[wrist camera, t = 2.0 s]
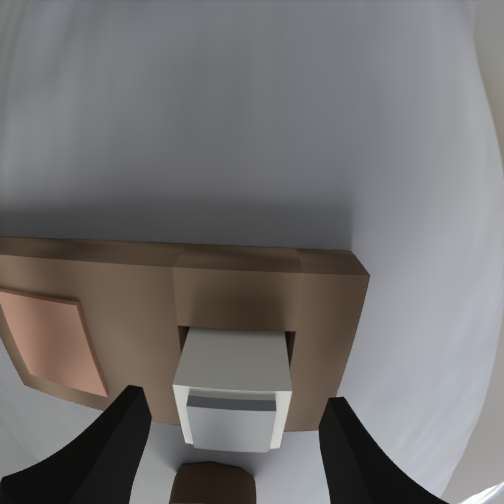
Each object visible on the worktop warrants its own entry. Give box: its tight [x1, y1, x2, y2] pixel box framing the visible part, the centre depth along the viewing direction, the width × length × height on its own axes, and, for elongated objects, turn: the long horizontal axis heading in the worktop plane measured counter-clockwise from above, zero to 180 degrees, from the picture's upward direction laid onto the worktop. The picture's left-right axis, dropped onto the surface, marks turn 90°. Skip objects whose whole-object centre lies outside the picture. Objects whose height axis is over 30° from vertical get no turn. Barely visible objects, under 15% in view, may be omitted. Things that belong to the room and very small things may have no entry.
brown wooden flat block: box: [0, 237, 370, 432], centre depth 13 cm, size 20×10×3 cm, turn 88°
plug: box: [173, 326, 292, 452], centre depth 12 cm, size 4×4×6 cm
